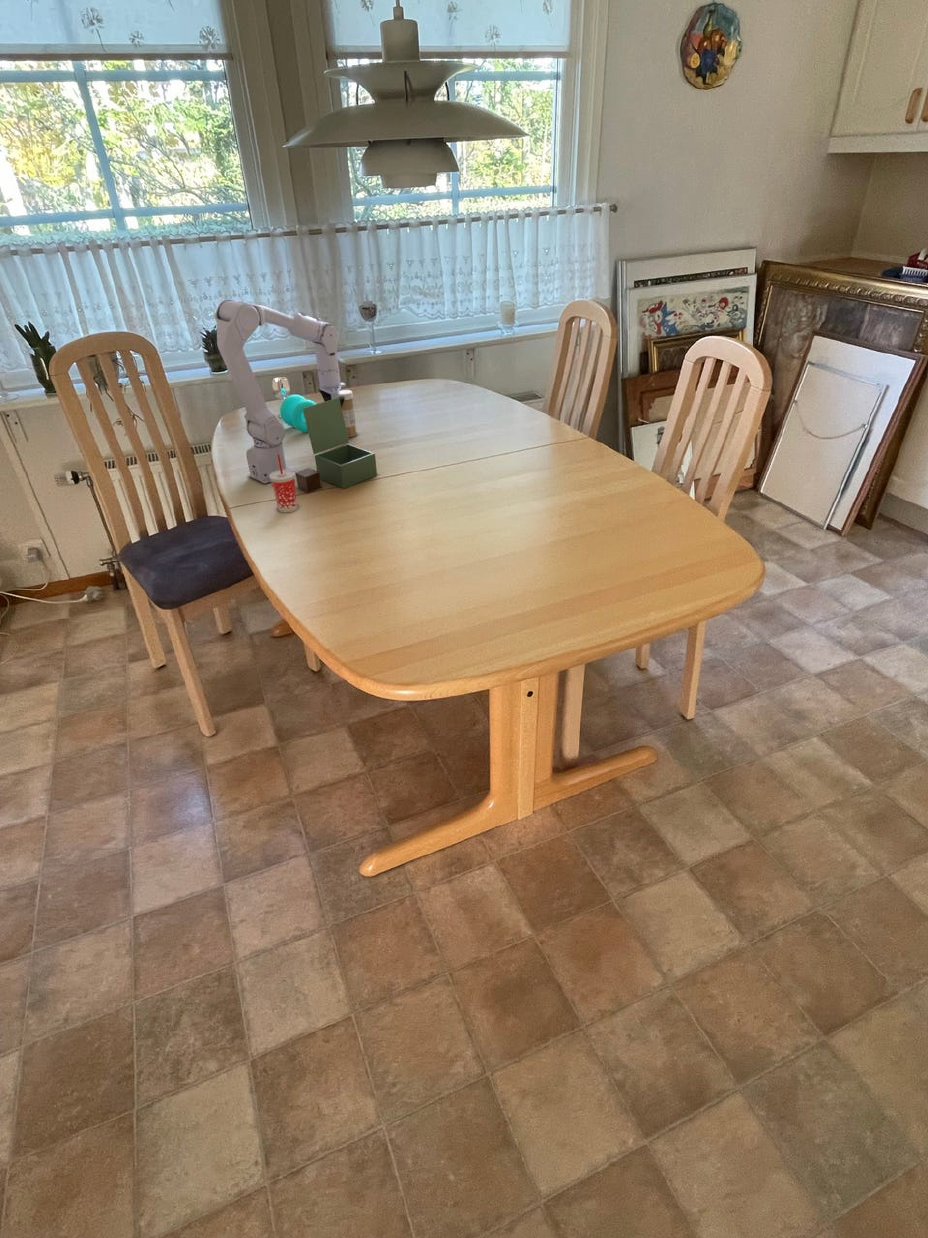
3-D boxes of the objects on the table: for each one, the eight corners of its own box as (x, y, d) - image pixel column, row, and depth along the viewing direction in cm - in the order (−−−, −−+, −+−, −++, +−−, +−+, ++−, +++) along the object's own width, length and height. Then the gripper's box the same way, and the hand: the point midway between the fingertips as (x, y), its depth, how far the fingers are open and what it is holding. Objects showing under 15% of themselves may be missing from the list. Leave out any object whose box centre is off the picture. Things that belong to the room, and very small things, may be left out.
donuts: (296, 436, 215) (291, 404, 209) (281, 428, 221) (275, 397, 215) (324, 429, 220) (320, 397, 214) (309, 421, 226) (304, 390, 220)
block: (307, 492, 180) (305, 477, 178) (297, 488, 183) (295, 472, 180) (321, 487, 183) (319, 471, 180) (311, 483, 185) (309, 467, 183)
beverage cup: (305, 508, 173) (296, 454, 165) (283, 516, 169) (273, 461, 161) (292, 500, 176) (282, 447, 168) (270, 508, 173) (260, 454, 165)
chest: (377, 475, 189) (375, 453, 185) (343, 488, 182) (340, 466, 178) (351, 464, 195) (348, 443, 192) (317, 477, 188) (314, 455, 185)
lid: (339, 397, 186) (337, 397, 186) (303, 408, 179) (302, 408, 179) (349, 442, 191) (347, 441, 192) (315, 454, 184) (313, 453, 185)
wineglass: (276, 414, 233) (270, 377, 226) (293, 412, 234) (288, 375, 227) (278, 419, 228) (271, 382, 221) (295, 417, 230) (289, 380, 223)
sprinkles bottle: (351, 431, 217) (347, 388, 210) (359, 435, 214) (355, 391, 207) (339, 435, 215) (333, 391, 207) (347, 439, 212) (341, 394, 204)
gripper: (347, 373, 185) (353, 423, 193) (338, 360, 197) (343, 408, 204) (321, 376, 184) (327, 426, 191) (313, 363, 195) (319, 411, 203)
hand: (334, 417), depth 198 cm, fingers open, 7 cm apart
